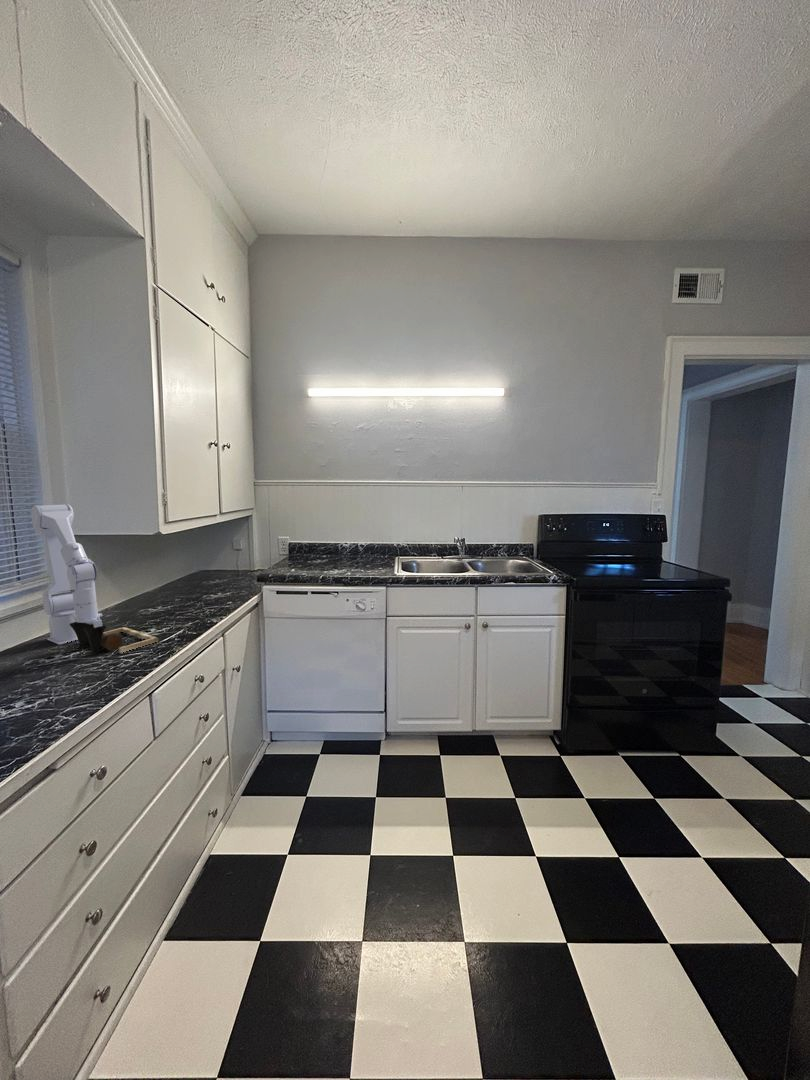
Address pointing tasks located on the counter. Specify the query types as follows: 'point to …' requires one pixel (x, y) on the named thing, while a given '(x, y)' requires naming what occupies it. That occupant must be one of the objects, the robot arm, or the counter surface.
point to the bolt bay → (148, 638)
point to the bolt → (112, 641)
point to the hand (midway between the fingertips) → (90, 646)
